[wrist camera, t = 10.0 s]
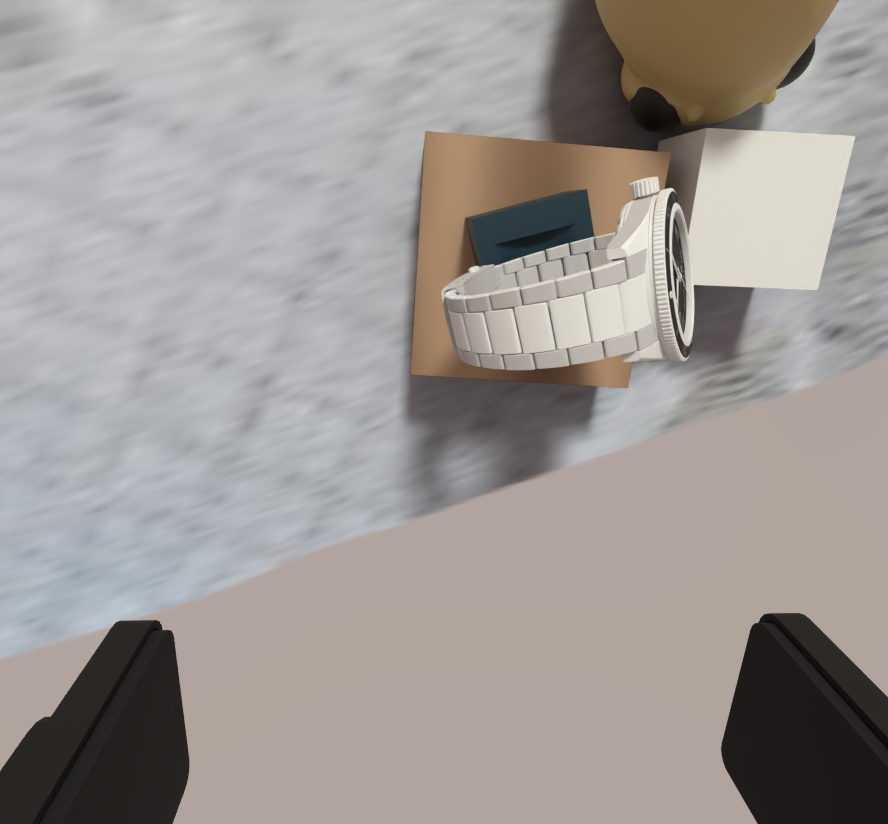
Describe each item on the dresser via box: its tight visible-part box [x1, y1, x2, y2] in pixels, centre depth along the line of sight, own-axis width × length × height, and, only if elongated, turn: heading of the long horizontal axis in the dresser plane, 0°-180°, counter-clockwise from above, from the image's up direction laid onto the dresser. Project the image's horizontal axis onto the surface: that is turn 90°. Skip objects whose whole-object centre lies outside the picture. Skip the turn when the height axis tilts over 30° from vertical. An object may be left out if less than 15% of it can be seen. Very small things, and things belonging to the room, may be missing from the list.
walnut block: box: [411, 131, 671, 388], centre depth 27 cm, size 10×10×4 cm
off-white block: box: [658, 128, 855, 290], centre depth 27 cm, size 6×6×5 cm
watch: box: [441, 177, 694, 370], centre depth 20 cm, size 6×8×11 cm
